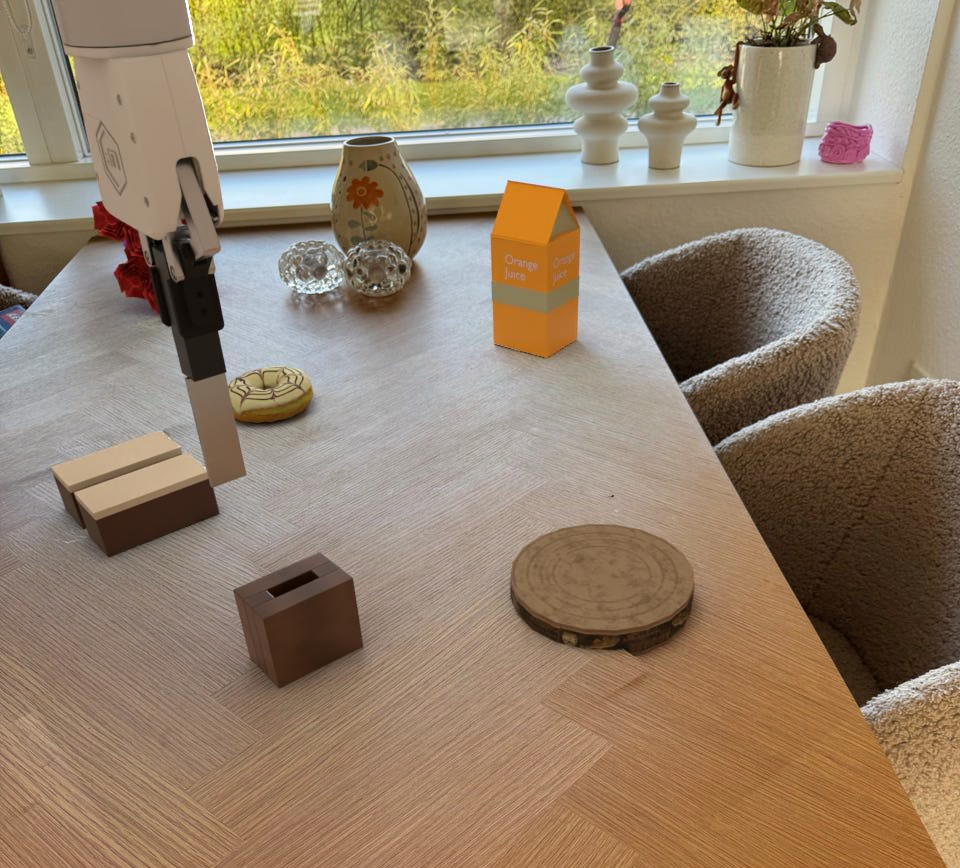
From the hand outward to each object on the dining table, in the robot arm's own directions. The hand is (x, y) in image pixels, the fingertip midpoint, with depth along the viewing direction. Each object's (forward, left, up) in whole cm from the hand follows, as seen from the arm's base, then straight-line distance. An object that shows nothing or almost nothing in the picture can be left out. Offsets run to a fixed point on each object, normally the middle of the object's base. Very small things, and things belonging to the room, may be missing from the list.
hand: (193, 325), depth 68 cm
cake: (-1, +28, -27) cm, 39 cm away
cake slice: (-1, +22, -27) cm, 34 cm away
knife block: (0, -8, -27) cm, 28 cm away
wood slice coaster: (+24, -18, -27) cm, 40 cm away
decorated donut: (+21, +37, -27) cm, 51 cm away
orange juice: (+58, +30, -27) cm, 71 cm away
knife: (0, 0, -13) cm, 13 cm away
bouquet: (+30, +90, -27) cm, 99 cm away
